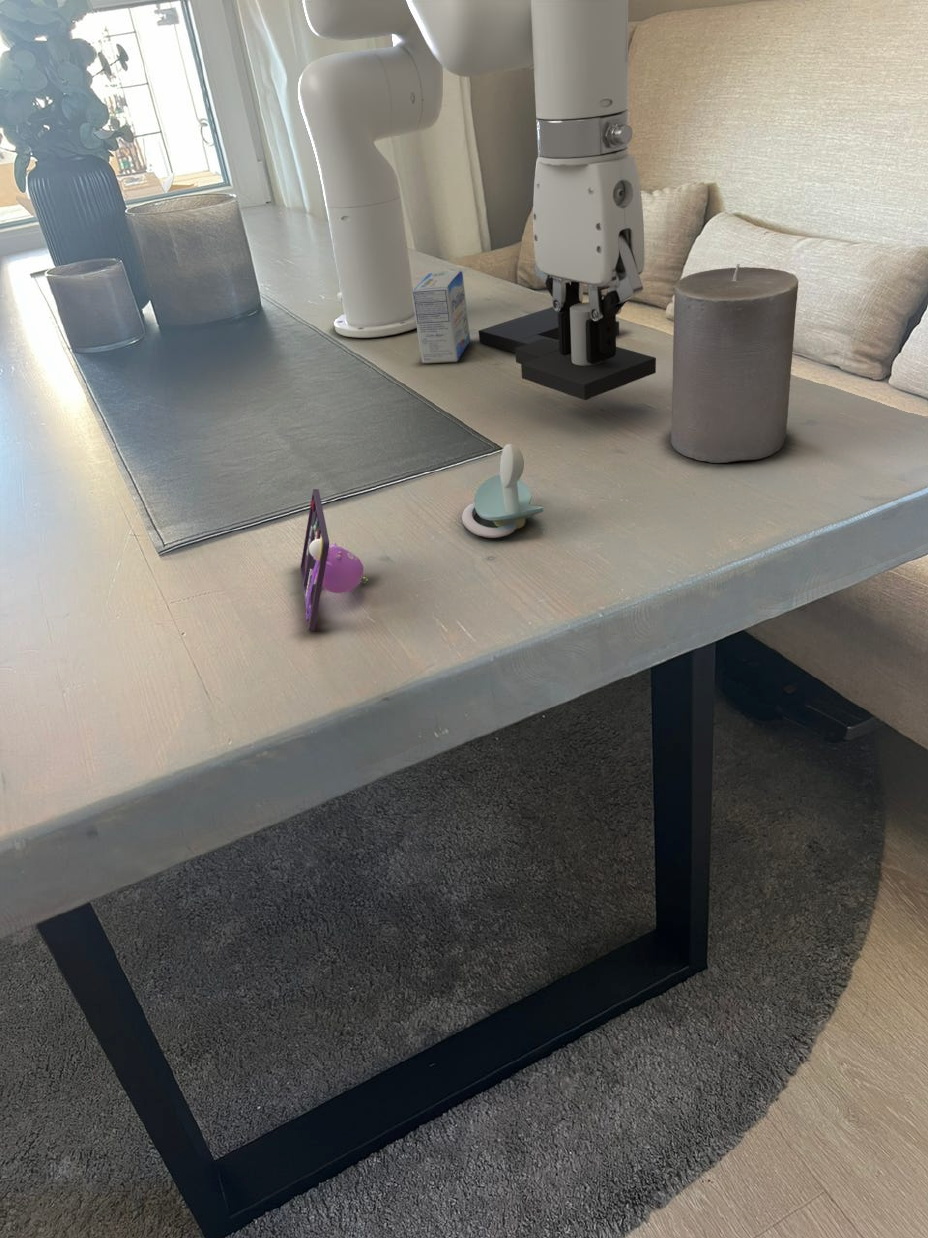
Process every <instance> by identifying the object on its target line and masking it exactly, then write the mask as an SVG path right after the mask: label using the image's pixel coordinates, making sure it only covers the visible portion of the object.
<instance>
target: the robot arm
mask: <svg viewBox="0 0 928 1238" xmlns="http://www.w3.org/2000/svg"><path fill="white" fill-rule="evenodd" d="M302 4H303V10H304V14H305V17H306V21H307V23H308V26H309V28H310V29H311V31H312V32H313V33H314V34H315V35H316V36H317V37H319V38H321V39H323V40H326V41H331V42H332V41H333V42H337V41H338V42H344V41H355V40H356V41H357V40H364V39H372V38H379V37H387V36H392V43H393V44H392V45H393V46H386V47H378V48H370V49H367V48H366V49H357V50H352V51H345V52H343V51H342V52H337V53H332V54H329V55H328V54H327V55H324V56H322V57H318V58H316V59H315V60H313V61H312V62H310V63H309V64H308V65H307V66H306V67H305V68H304V69H303V71H302V73H301V75H300V77H299V80H298V87H297V91H298V92H297V94H298V101H299V106H300V110H301V113H302V117H303V120H304V123H305V125H306V128H307V129H306V130H307V131H308V135H309V137H310V141H311V144H312V147H313V151H314V155H315V158H316V163H317V167H318V172H319V176H320V182H321V186H322V192H323V199H324V203H325V209H326V215H327V220H328V225H329V233H330V237H331V244H332V250H333V256H334V261H335V266H336V267H335V268H336V273H337V278H338V283H339V290H340V291H339V292H338V293H337V295H336V300H337V302H338V303H341V304H342V306H343V307H342V308H343V312H344V314H342V315H340V316H338V318H337V319H335V321H334V329H335V331H336V334H337V333H338V334H339V335H341V336H343V337H347V338H356V339H357V338H358V339H366V338H367V339H368V338H369V339H370V338H382V337H388V336H394V335H398V334H402V333H406V332H409V331H412V330H415V329H417V325H416V319H415V312H414V305H413V297H412V291H413V290H414V289H413V280H412V279H413V278H412V273H411V266H410V265H411V264H410V257H409V250H408V243H407V242H408V241H407V234H406V233H407V232H406V226H405V218H404V212H403V205H402V198H401V197H402V196H401V190H400V184H399V183H400V182H399V180H398V176H397V173H396V172H395V169H394V168H393V166H392V165H391V163H390V161H388V160H387V158H386V157H385V156H384V155H383V153H382V152H381V151H380V150H379V149H378V148H377V146H376V144H375V142H377V141H381V140H383V139H388V138H389V139H390V138H394V137H400V136H405V135H411V134H415V133H416V134H417V133H420V132H423V131H426V130H428V129H431V127H432V126H434V125H435V123H436V122H437V121H438V119H439V117H440V115H441V111H442V105H443V97H444V95H443V94H444V69H445V70H446V71H448V72H450V73H451V74H453V75H455V76H458V77H463V78H473V77H480V76H481V77H482V76H487V75H494V74H499V73H504V72H510V71H516V70H529V69H533V76H534V77H533V78H534V79H533V80H534V82H533V83H534V97H535V98H534V102H535V117H536V121H535V122H536V141H537V158H536V162H535V171H534V181H533V201H532V203H533V204H532V231H533V232H532V233H533V235H532V236H533V251H534V259H535V264H534V267H533V273H534V274H535V276H536V277H537V278H538V279H539V280H540V281H541V282H542V283H543V284H544V285H545V287H546V289H547V291H548V293H549V294H550V296H551V298H552V302H551V303H552V307H553V308H554V310H555V311H556V312H559V313H558V332H559V353H560V354H561V355H565V356H566V355H569V354H571V325H570V307H571V306H573V305H575V304H579V303H584V302H583V301H584V285H587V294H588V302H589V307H590V316H591V319H589V320H586V360H587V362H588V363H591V364H595V363H598V362H601V361H604V360H606V359H609V358H612V357H614V356H615V354H616V347H617V335H616V321H617V315H619V314H621V312H622V308H623V307H624V306H625V304H626V303H627V302H628V300H630V299H633V298H634V297H636V296H638V295H640V294H642V292H643V291H644V286H643V282H642V280H641V274H642V273H643V272H644V268H645V257H646V256H645V255H646V254H645V253H646V252H645V224H644V207H643V199H642V189H641V182H640V176H639V169H638V165H637V160H636V156H635V154H629V143H630V142H631V141H632V138H633V128H632V127H631V126H630V125H629V110H628V109H629V0H302ZM604 290H606V294H605V295H604V297H603V291H604Z"/></svg>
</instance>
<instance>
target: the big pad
mask: <svg viewBox="0 0 928 1238" xmlns="http://www.w3.org/2000/svg"><path fill="white" fill-rule="evenodd" d="M558 313H559V312H556V311H555V310H554V308H553V306H551V307H548V308H545V309H542V310H538V311H535V312H532V313H529V314H526V315H523V316H519V317H517V318H514V319H510V320H507V321H504V322H501V323H497V324H494V325H491V326H488V327H485V328H481V329H478V339H479V343H480V344H483V345H488V346H491V347H493V348H498V349H501V350H504V351H508V352H512V353H514V354H515V348H517V347H520V346H523V345H526V344H529V343H532V342H535V341H538V340H541V339H544V338H547V339H550V340H554V341H557V342H559V332H558ZM617 335H620V321H618V320H616V336H617Z"/></svg>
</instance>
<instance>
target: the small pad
mask: <svg viewBox="0 0 928 1238" xmlns="http://www.w3.org/2000/svg"><path fill="white" fill-rule="evenodd" d="M589 319H591V316H590V307H589V301H587V302H582V303H579V304H575V305H573V306H571V307H570V325H571V354H569V355H566V356H565V355H561V354H560V353H559V342H557V341H554V340H550V339H547V338H544V339H541V340H538V341H535V342H532V343H529V344H526V345H523V346H520V347H517V348H515V353H514V354H515V363H517V364H518V365H520V369H521V370H520V371H521V378H522V379H523V380H525V381H528V382H531V383H534V384H537V385H540V386H543V387H545V388H548V389H551V390H555V391H557V392H560V393H563V394H565V395H569V396H571V397H574V398H577V399H580V400H582V401H587V400H589V399H592V398H595V397H597V396H599V395H603V394H605V393H608V392H610V391H612V390H615V389H618V388H620V387H623V386H626V385H628V384H631V383H633V382H636V381H639V380H641V379H643V378H646V377H650V376H651V375H654V374H656V372H657V358H656V357H655V356H651V355H647V354H645V353H641V352H637V351H634V350H630V349H626V348H624V347H619V346H616V354H615V356H614V357H612V358H609V359H606V360H604V361H601V362H598V363H595V364H591V363H588V362H587V360H586V320H589Z"/></svg>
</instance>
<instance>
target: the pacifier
mask: <svg viewBox="0 0 928 1238" xmlns="http://www.w3.org/2000/svg"><path fill="white" fill-rule="evenodd" d="M524 469H525V458H524V455H523V453H522V451H521V449H520V448H519V447H518V446H517V445H515V444H512V443H507V444H505V445H504V447H503V449H502V452H501V456H500V463H499V474H498V475H493V476H491V477H489V478H487V479H486V480H485V481H483V482H482V483H481V484H480V485H479V486H478V488H477V489H476V492H475V494H474V499H473V503H471V504H469V505H467V506H466V507H465V508H464V510H463V512H462V515H461V517H462V518H461V520H462V523H463V526H464V527H465V528H466V529H467V530H468V531H469V532H471V533H472V534H474V535H477V536H478V537H483V538H487V539H498V538H502V537H506V536H509V535H510V534H512V533H514V531H515V530H518V529H521V528H522V527H524V526H525V524H526V519H527V518H530V517H533V516H536V515H539V514H541V513H543V512H544V507H543V506H540V505H531V499H532V496H531V495H532V494H531V491H530V489H529V487H528V486H527V484H526V483H525V482H524V481H522V480H521V477H522V475H523V473H524ZM476 514H477V515H478V516H479V517H480V518H481V519H483V520H488V521H492V522H493V524H494V525H495V526H496V527H489V526H485V525H482V524H480V523H478V522H477V521H476V520H475V519H474V517H475V515H476Z"/></svg>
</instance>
